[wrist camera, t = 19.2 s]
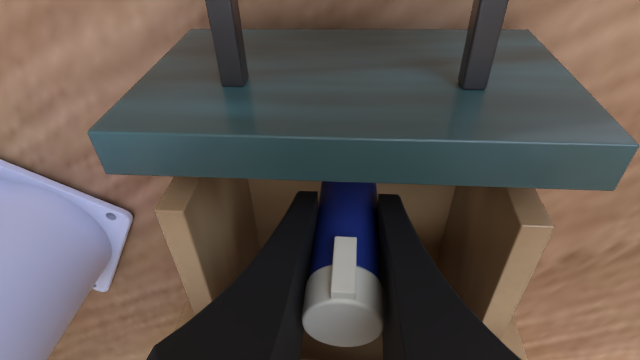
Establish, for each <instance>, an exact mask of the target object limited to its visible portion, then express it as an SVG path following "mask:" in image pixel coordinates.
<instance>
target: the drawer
mask: <svg viewBox="0 0 640 360" xmlns="http://www.w3.org/2000/svg"><path fill="white" fill-rule="evenodd" d="M508 1H509V0H474V1H473V6H472V11H471V16H470V21H469V26H468V30H446V29H242V26H241V19H240V12H239V6H238V0H205V2H206V7H207V12H208V17H209V22H210V27H211V29H191V30H190V31H189V32H188V33H186V34H185V35H184V36H183V37H182V38H181V39H180V40H179V41H178V42H177V43H176V44H175V45H174V46H173V47H172V48H171V49H170V50H169V51H168V52H167V53H166V54H165V55H164V56H163V57H162V58H161V59H160V60H159V61H158V62H157V63H156V64H155V65H154V66H153V67H152V68H151V69H150V70H149V71H148V72H147V73H146V74H145V75H144V76H143V77H142V78H141V79H140V80H139V81H138V82H137V83H136V84H135V85H134V86H133V87H132V88H131V89H130V90H129V91H128V92H127V93H126V94H125V95H124V96H123V97H122V98H121V99H120V100H119V101H118V102H117V103H116V104H115V105H114V106H113V107H112V108H111V109H109V110H108V111H107V112H106V113H105V114H104V115H103V116H102V117H101V118H100V119H99V120H98V121H97V122H96V123H95V124H94V125H93V126H92V127H91V128H90V129H89V130H88V135H89V138H90V140H91V142H92V144H93V146H94V149H95V151H96V153H97V155H98V157H99V160H100V162H101V164H102V166H103V168H104V171H105V173H106V174H120V175H150V176H175V177H174V178H173V180H172V182H171V183H170V185H169V187H168V188H167V190H166V192H165V193H164V195H163V197H162V198H161V200H160V202H159V203H158V205H157V207H156V209H155V214H156V217H157V219H158V222H159V224H160V227H161V230H162V232H163V235H164V237H165V240H166V242H167V245H168V248H169V250H170V253H171V255H172V258H173V260H174V263H175V266H176V268H177V271H178V273H179V276H180V278H181V281H182V284H183V286H184V289H185V291H186V294H187V296H188V299H189V302H190V304H191V307H192V309H193V312H194V315H196V314H198V313H199V312H200V311H201V310H202V309H204V308H205V307H206V306H207V305H208V304H209V303H211V302H212V301H213V300H214V299H215V298H216V297H217V296H218V295H220V294H221V293H222V292H223V291H224V290H225V289H226V288H227V287H228V286H229V285H230V284H231V283H232V282H233V281H234V280H235V279H236V278H237V277H238V276H239V275H240V273H241V272H242V271H243V270H244V269H245V268H246V267H247V266H248V265H249V263H250V262H251V261H252V260H253V259H254V257H255V256H256V255H257V254H258V252H259V251H260V250H261V248H262V247H263V246H264V245H265V243H266V242H267V241H268V239H269V238H270V237H271V235H272V234H273V232H274V231H275V229H276V228H277V226H278V225H279V223H280V222H281V220H282V219H283V217H284V215H285V214H286V212H287V210H288V209H289V207H290V205H291V203H292V201H293V199H294V197H295V195H296V193H297V192H299V191H318V205H319V198H320V190H321V184H322V181H330V182H360V183H376V185H377V204H378V194H398V195H399V196H400V197H401V200H402V203H403V205H404V208H405V210H406V213H407V215H408V217H409V219H410V221H411V223H412V225H413V227H414V229H415V231H416V233H417V235H418V236H419V238H420V240H421V242H422V244H423V245H424V247H425V249H426V250H427V252H428V254H429V255H430V257H431V258H432V260H433V261H434V263H435V264H436V266H437V267H438V269H439V270H440V272H441V273H442V274H443V276H444V277H445V279H446V280H447V281H448V283H449V284H450V285H451V286H452V288H453V289H454V290H455V292H456V293H457V294H458V295H459V296H460V298H461V299H462V300H463V301H464V302H465V304H466V305H467V306H468V307H469V308H470V309H471V310H472V311H473V312H474V313H475V315H476V316H477V317H478V318H479V319H480V320H481V321H482V322H483V323H484V324H485V325H486V326H487V327H488V329H489V330H490V331H491V332H492V333H493V334H495V335H496V336H497V337H498V338H499V339H500V340H501V338H502V336H503V334H504V332H505V330H506V328H507V326H508V324H509V321H510V319H511V317H512V315H513V313H514V311H515V309H516V307H517V305H518V303H519V301H520V299H521V296H522V294H523V292H524V290H525V288H526V286H527V284H528V282H529V280H530V278H531V276H532V274H533V272H534V269H535V267H536V265H537V263H538V261H539V259H540V257H541V255H542V253H543V251H544V249H545V247H546V244H547V242H548V240H549V238H550V236H551V234H552V232H553V230H554V224H553V222H552V221H551V219H550V217H549V215H548V213H547V211H546V209H545V207H544V205H543V203H542V201H541V199H540V197H539V195H538V194H537V192H536V190H535V188H541V189H571V190H601V191H613V190H615V188H616V186H617V184H618V183H619V181H620V179H621V177H622V176H623V174H624V172H625V170H626V169H627V167H628V165H629V163H630V162H631V160H632V158H633V156H634V154H635V153H636V151H637V149H638V147H639V144H638V143H637V142H636V141H635V140H634V139H633V138H632V137H631V136H630V135H629V134H628V132H627V131H626V130H625V129H624V128H623V127H622V126H621V125H620V124H619V123H618V122H617V121H616V120H615V119H614V118H613V117H612V116H611V115H610V114H609V113H608V112H607V111H606V110H605V109H604V108H603V106H602V105H601V104H600V103H599V102H598V101H597V100H596V99H595V98H594V97H593V96H592V95H591V94H590V93H589V92H588V91H587V90H586V89H585V88H584V87H583V86H582V85H581V84H580V83H579V82H578V81H577V79H576V78H575V77H574V76H573V75H572V74H571V73H570V72H569V71H568V70H567V69H566V68H565V67H564V66H563V65H562V64H561V63H560V62H559V61H558V60H557V59H556V58H555V57H554V56H553V55H552V53H551V52H550V51H549V50H548V49H547V48H546V47H545V46H544V45H543V44H542V43H541V42H540V41H539V40H538V39H537V38H536V37H535V36H534V35H533V34H532V33H531V32H530V31H529V30H501V29H502V25H503V21H504V17H505V13H506V9H507V5H508ZM301 359H311V360H383V337H382V333H381V334H380V336H379V337H378V338H377V339H375V340H374V341H372V342H370V343H367V344H364V345H360V346H354V347H340V346H333V345H329V344H325V343H322V342H320V341H318V340H316V339H314V338H313V337H311V336H310V335H309V334H308V333H307V332H306V331H305V329H304V333H303V342H302V351H301Z"/></svg>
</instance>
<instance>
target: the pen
mask: <svg viewBox="0 0 640 360" xmlns="http://www.w3.org/2000/svg"><path fill="white" fill-rule="evenodd" d="M377 205H378V204H377V185H376V183H360V182H330V181H322V184H321V190H320V198H319V205H318V215H317V223H316V230H315V236H314V243H313V251H312V258H311V266H310V273H309V279H308V281H307V283H306V290H305V297H304V304H303V311H302V325H303V327H304V329H305V331H306V332H307V333H308V334H309V335H310V336H311V337H313V338H314V339H316V340H318V341H320V342H322V343H325V344H329V345H333V346H340V347H354V346H360V345H364V344H367V343H370V342H372V341H374V340H375V339H377V338H378V337H379V336H380V334H381V333H382V331H383V328H384V310H383V289H382V285H381V283H380V256H379V238H378V221H377Z"/></svg>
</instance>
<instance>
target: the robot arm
mask: <svg viewBox="0 0 640 360" xmlns="http://www.w3.org/2000/svg"><path fill="white" fill-rule="evenodd" d="M317 215H318V191H299V192H297V193H296V195H295V197H294V199H293V201H292V203H291V205H290V207H289V209H288V210H287V212H286V214H285V215H284V217H283V219H282V220H281V222H280V223H279V225H278V226H277V228H276V229H275V231H274V232H273V234H272V235H271V237H270V238H269V239H268V241H267V242H266V243H265V245H264V246H263V247H262V248H261V250H260V251H259V252H258V254H257V255H256V256H255V257H254V259H253V260H252V261H251V262H250V263H249V265H248V266H247V267H246V268H245V269H244V270H243V271H242V272H241V273H240V275H239V276H238V277H237V278H236V279H235V280H234V281H233V282H232V283H231V284H230V285H229V286H228V287H227V288H226V289H225V290H224V291H223V292H222V293H221V294H220V295H218V296H217V297H216V298H215V299H214V300H213V301H212V302H211V303H209V304H208V305H207V306H206V307H205V308H204V309H202V310H201V311H200V312H199V313H198V314H196V315H195V316H194V317H193V318H192V319H190V320H189V321H188V322H187V323H185V324H184V325H183V326H181V327H180V328H178V329H177V330H176V331H174V332H173V333H172V334H170V335H169V336H167V337H166V338H165V339H163V340H162V341H161V342H159V343H158V344H156V345H155V346H154V347H153V349H152V351H151V352H150V354H149V356H148V358H147V359H146V360H301V351H302V342H303V333H304V327H303V325H302V311H303V304H304V297H305V290H306V283H307V281H308V279H309V273H310V266H311V258H312V251H313V243H314V236H315V230H316V223H317ZM132 221H133V216H132V214H131V213H130V212H129V211H127V210H125V209H122V208H120V207H117V206H115V205H112V204H110V203H107V202H105V201H102V200H100V199H98V198H95V197H93V196H90V195H88V194H85V193H83V192H80V191H78V190H75V189H73V188H70V187H68V186H65V185H63V184H60V183H58V182H55V181H53V180H51V179H48V178H46V177H43V176H41V175H38V174H36V173H33V172H31V171H28V170H26V169H23V168H21V167H18V166H16V165H13V164H11V163H8V162H6V161H3V160H1V159H0V360H47V359H48V358H49V356H50V354H51V353H52V351H53V350H54V348H55V346H56V345H57V343H58V342H59V340H60V339H61V337H62V335H63V334H64V332H65V331H66V329H67V327H68V326H69V324H70V323H71V321H72V320H73V318H74V316H75V315H76V313H77V312H78V310H79V308H80V307H81V305H82V304H83V302H84V301H85V299H86V297H87V296H88V294H89V293H90V291H91V289H94V290H97V291H100V292H106V291H108V289H109V288H110V286H111V283H112V280H113V277H114V274H115V271H116V268H117V265H118V262H119V259H120V256H121V253H122V250H123V248H124V245H125V242H126V239H127V236H128V233H129V230H130V227H131V224H132ZM377 221H378V238H379V256H380V283H381V285H382V289H383V310H384V328H383V331H382V337H383V360H521V359H520V358H519V357H518V356H517V355H516V354H515V353H513V352H512V351H511V350H510V349H509V348H508V347H507V346H506V345H505V344H504V343H503V342H502V341H501V340H500V339H499V338H498V337H497V336H496V335H495V334H493V333H492V332H491V331H490V330H489V329H488V327H487V326H486V325H485V324H484V323H483V322H482V321H481V320H480V319H479V318H478V317H477V316H476V315H475V313H474V312H473V311H472V310H471V309H470V308H469V307H468V306H467V305H466V304H465V302H464V301H463V300H462V299H461V298H460V296H459V295H458V294H457V293H456V292H455V290H454V289H453V288H452V286H451V285H450V284H449V283H448V281H447V280H446V279H445V277H444V276H443V274H442V273H441V272H440V270H439V269H438V267H437V266H436V264H435V263H434V261H433V260H432V258H431V257H430V255H429V254H428V252H427V250H426V249H425V247H424V245H423V244H422V242H421V240H420V238H419V236H418V235H417V233H416V231H415V229H414V227H413V225H412V223H411V221H410V219H409V217H408V215H407V213H406V210H405V208H404V205H403V203H402V200H401V197H400V196H399V195H398V194H378V205H377Z"/></svg>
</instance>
